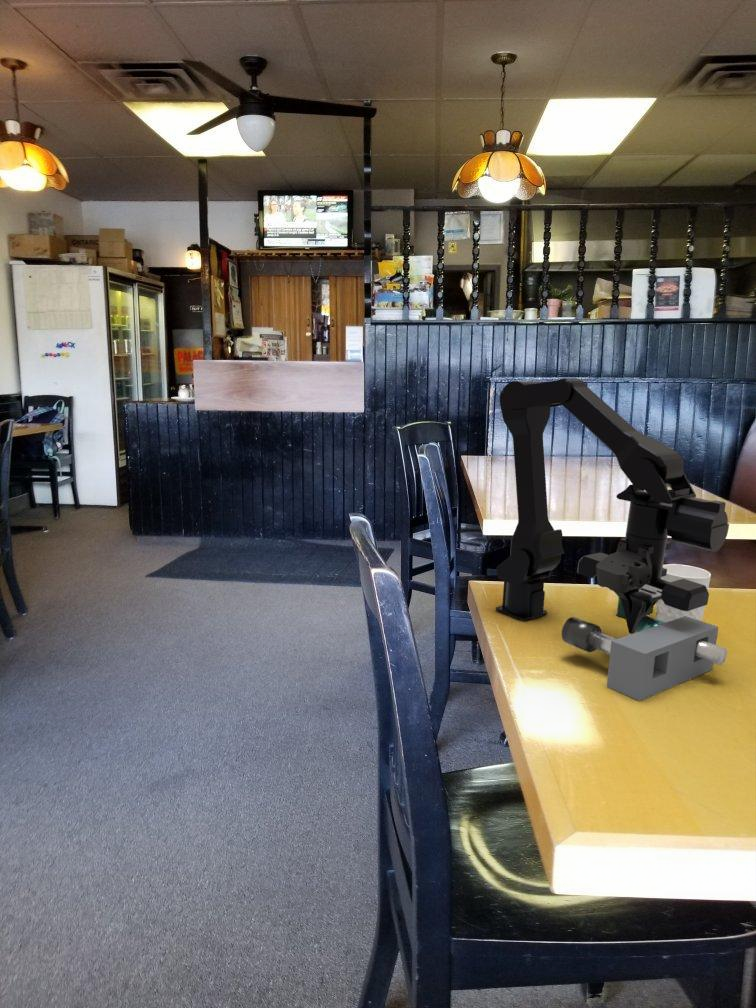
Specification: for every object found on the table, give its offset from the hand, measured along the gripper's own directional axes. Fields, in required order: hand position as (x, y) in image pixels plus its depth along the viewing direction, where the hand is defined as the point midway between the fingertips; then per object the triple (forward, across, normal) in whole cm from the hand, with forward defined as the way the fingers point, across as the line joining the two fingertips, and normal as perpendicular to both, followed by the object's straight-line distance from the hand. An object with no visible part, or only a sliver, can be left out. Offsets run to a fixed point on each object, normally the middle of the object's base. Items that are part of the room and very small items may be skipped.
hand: (631, 633), depth 108 cm
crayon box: (+3, -9, +15) cm, 18 cm away
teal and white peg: (0, +8, 0) cm, 8 cm away
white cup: (+3, -1, +15) cm, 15 cm away
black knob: (+1, +2, -10) cm, 10 cm away
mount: (+2, +8, -5) cm, 10 cm away
